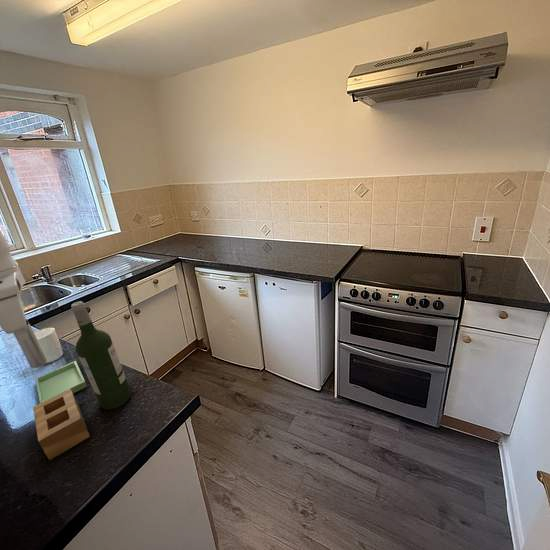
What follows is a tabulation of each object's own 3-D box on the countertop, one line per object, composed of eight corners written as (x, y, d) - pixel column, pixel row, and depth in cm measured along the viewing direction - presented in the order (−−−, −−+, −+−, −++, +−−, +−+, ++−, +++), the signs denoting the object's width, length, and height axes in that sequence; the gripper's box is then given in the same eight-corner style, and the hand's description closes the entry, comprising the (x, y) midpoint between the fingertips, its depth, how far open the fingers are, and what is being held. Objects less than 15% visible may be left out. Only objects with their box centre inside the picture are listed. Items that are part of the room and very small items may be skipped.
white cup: (38, 358, 108) (26, 334, 104) (64, 348, 112) (53, 325, 109) (40, 367, 102) (27, 343, 98) (66, 356, 107) (55, 332, 103)
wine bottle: (137, 394, 84) (101, 298, 73) (110, 414, 78) (66, 314, 67) (122, 385, 88) (85, 294, 77) (95, 404, 82) (52, 308, 71)
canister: (27, 367, 74) (6, 325, 70) (40, 358, 77) (20, 318, 73) (37, 368, 73) (16, 326, 69) (50, 359, 76) (30, 318, 72)
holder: (42, 424, 78) (32, 406, 75) (78, 405, 82) (70, 388, 80) (49, 460, 67) (38, 441, 65) (89, 436, 72) (80, 418, 70)
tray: (37, 383, 94) (35, 378, 93) (77, 365, 101) (75, 360, 100) (42, 408, 83) (39, 403, 82) (87, 386, 90) (84, 381, 89)
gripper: (-18, 276, 73) (7, 325, 78) (-23, 299, 58) (8, 357, 63) (15, 268, 76) (36, 316, 82) (17, 288, 62) (44, 344, 67)
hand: (24, 334), depth 72 cm, fingers closed on canister, 3 cm apart
